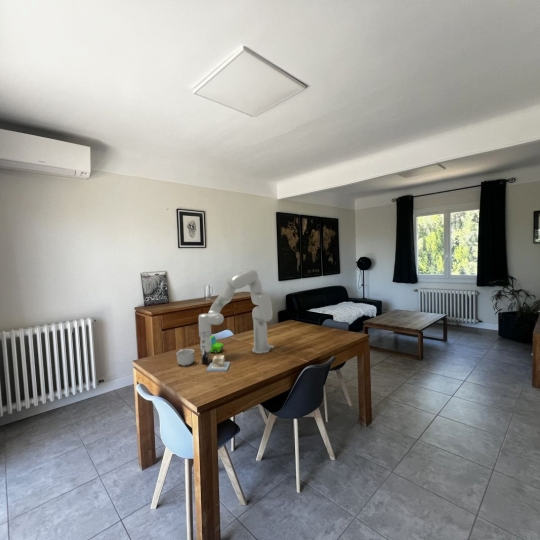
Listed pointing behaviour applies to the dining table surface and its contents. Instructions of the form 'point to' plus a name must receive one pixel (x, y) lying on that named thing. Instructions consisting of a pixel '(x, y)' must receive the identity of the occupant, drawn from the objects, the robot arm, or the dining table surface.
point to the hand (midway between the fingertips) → (206, 361)
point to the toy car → (216, 345)
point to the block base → (218, 361)
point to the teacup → (185, 357)
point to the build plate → (218, 369)
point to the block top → (208, 357)
